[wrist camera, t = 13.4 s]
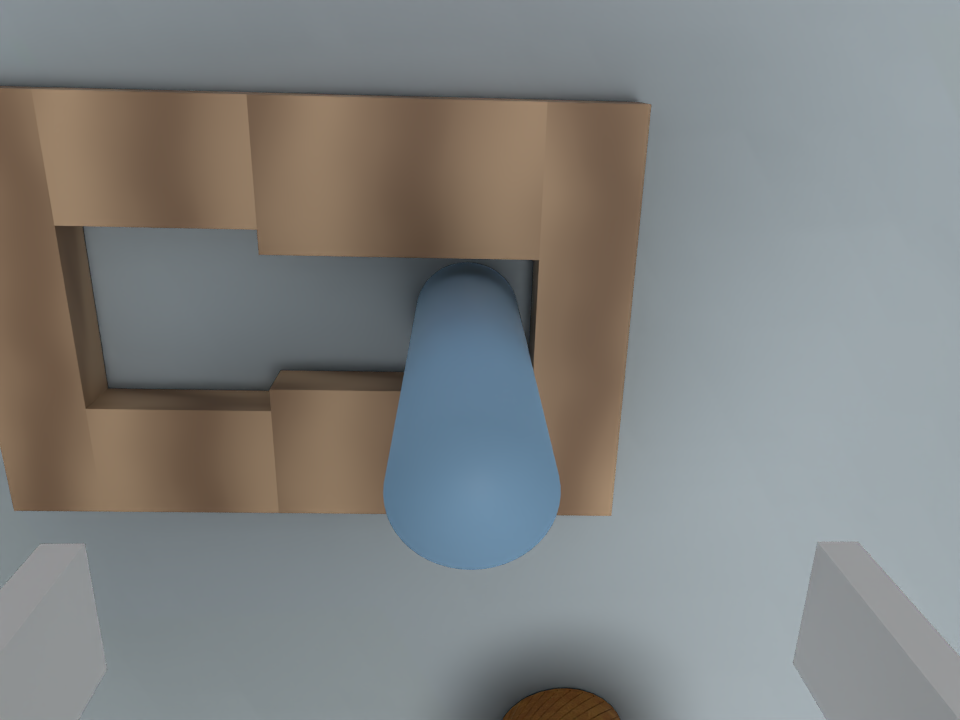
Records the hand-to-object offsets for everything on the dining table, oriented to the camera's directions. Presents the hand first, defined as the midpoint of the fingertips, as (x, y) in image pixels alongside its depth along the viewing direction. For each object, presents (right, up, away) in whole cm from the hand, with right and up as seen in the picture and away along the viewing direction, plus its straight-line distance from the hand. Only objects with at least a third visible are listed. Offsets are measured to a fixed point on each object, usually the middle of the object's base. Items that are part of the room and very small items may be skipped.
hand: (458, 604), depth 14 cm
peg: (0, +6, +16) cm, 18 cm away
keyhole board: (-6, +6, +16) cm, 19 cm away
